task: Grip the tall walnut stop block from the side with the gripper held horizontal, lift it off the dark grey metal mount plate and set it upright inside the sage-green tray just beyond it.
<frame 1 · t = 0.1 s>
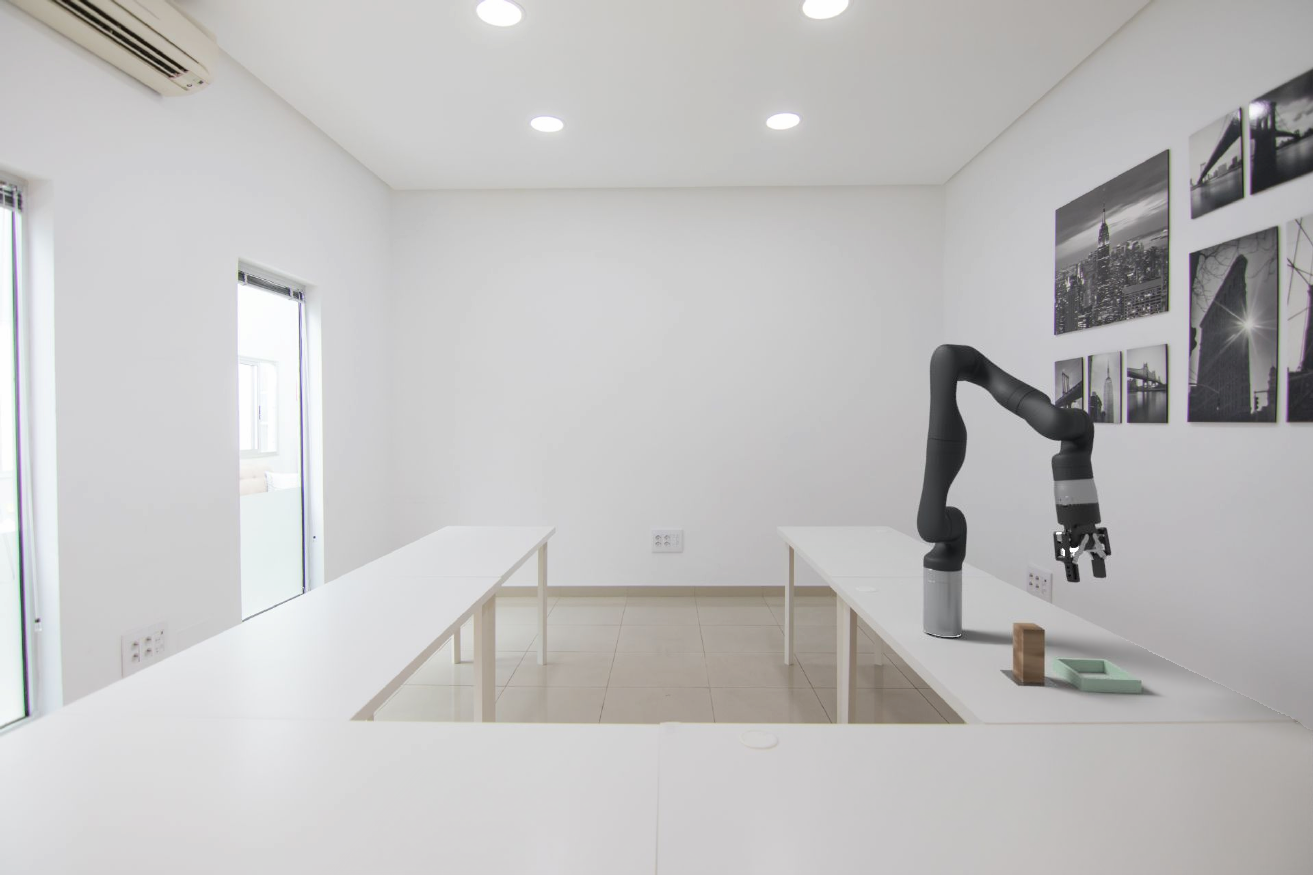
hand: (1087, 579, 124), 22 cm above the table, tool pointing down, fingers open, 8 cm apart
mount plate: (1028, 682, 125), on the table
tray: (1094, 684, 124), on the table
stop block: (1028, 678, 125), point 1 cm above the table, touching mount plate
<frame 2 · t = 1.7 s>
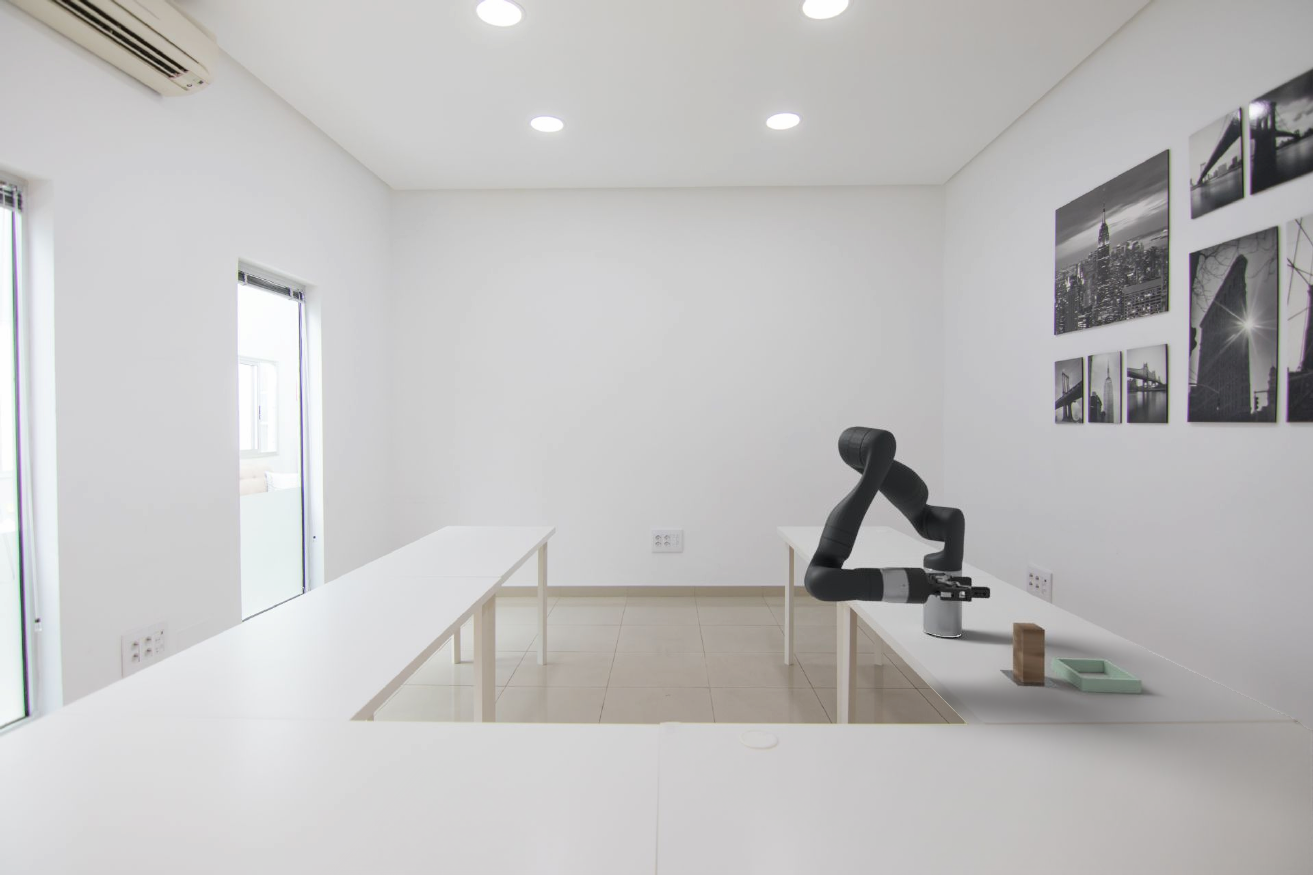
hand: (979, 587, 126), 20 cm above the table, tool horizontal, fingers open, 8 cm apart
nothing on the table moved.
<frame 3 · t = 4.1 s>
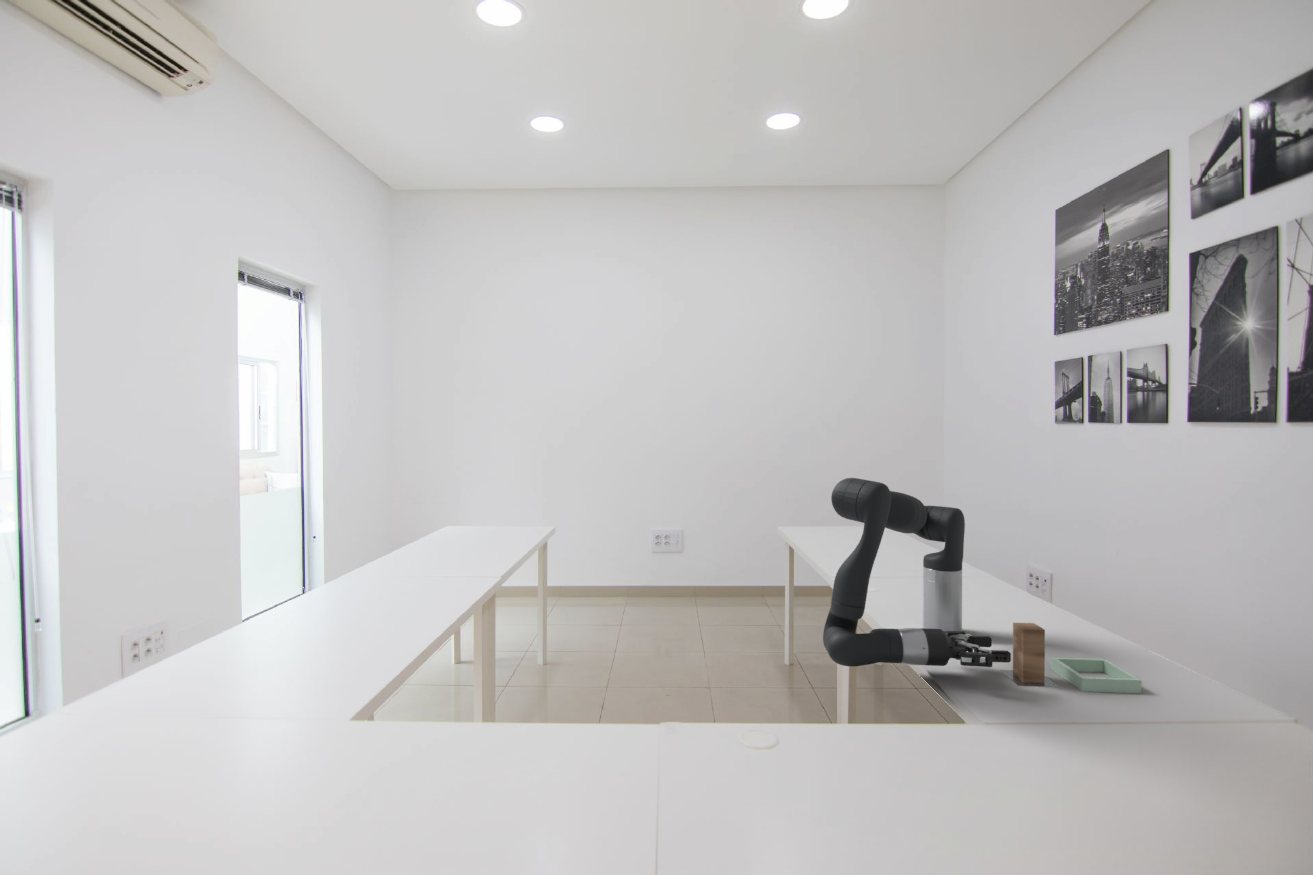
hand: (1000, 648, 126), 7 cm above the table, tool horizontal, fingers open, 8 cm apart
nothing on the table moved.
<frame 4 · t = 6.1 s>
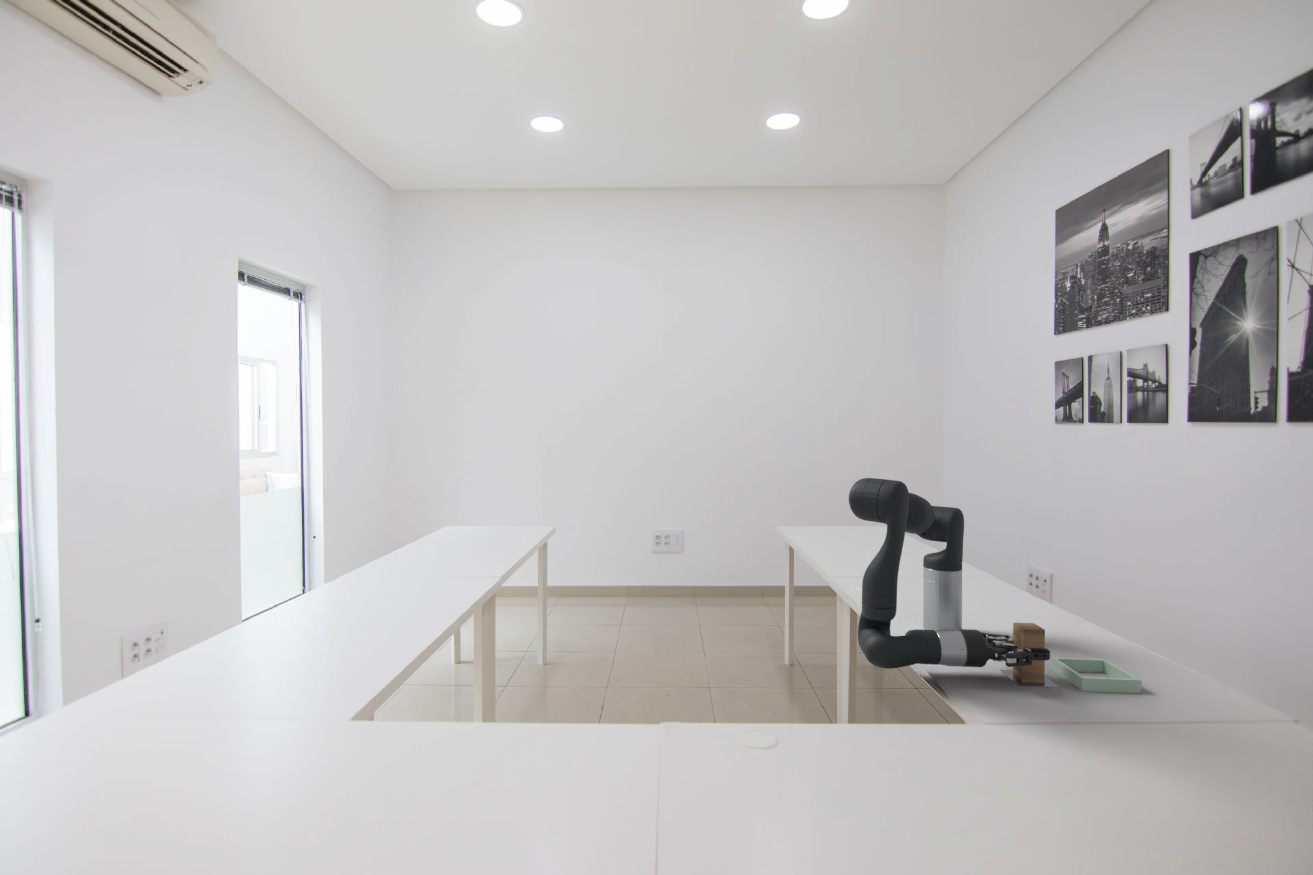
hand: (1042, 650, 125), 7 cm above the table, tool horizontal, fingers closed on stop block, 4 cm apart
stop block: (1028, 678, 125), point 1 cm above the table, touching gripper, mount plate
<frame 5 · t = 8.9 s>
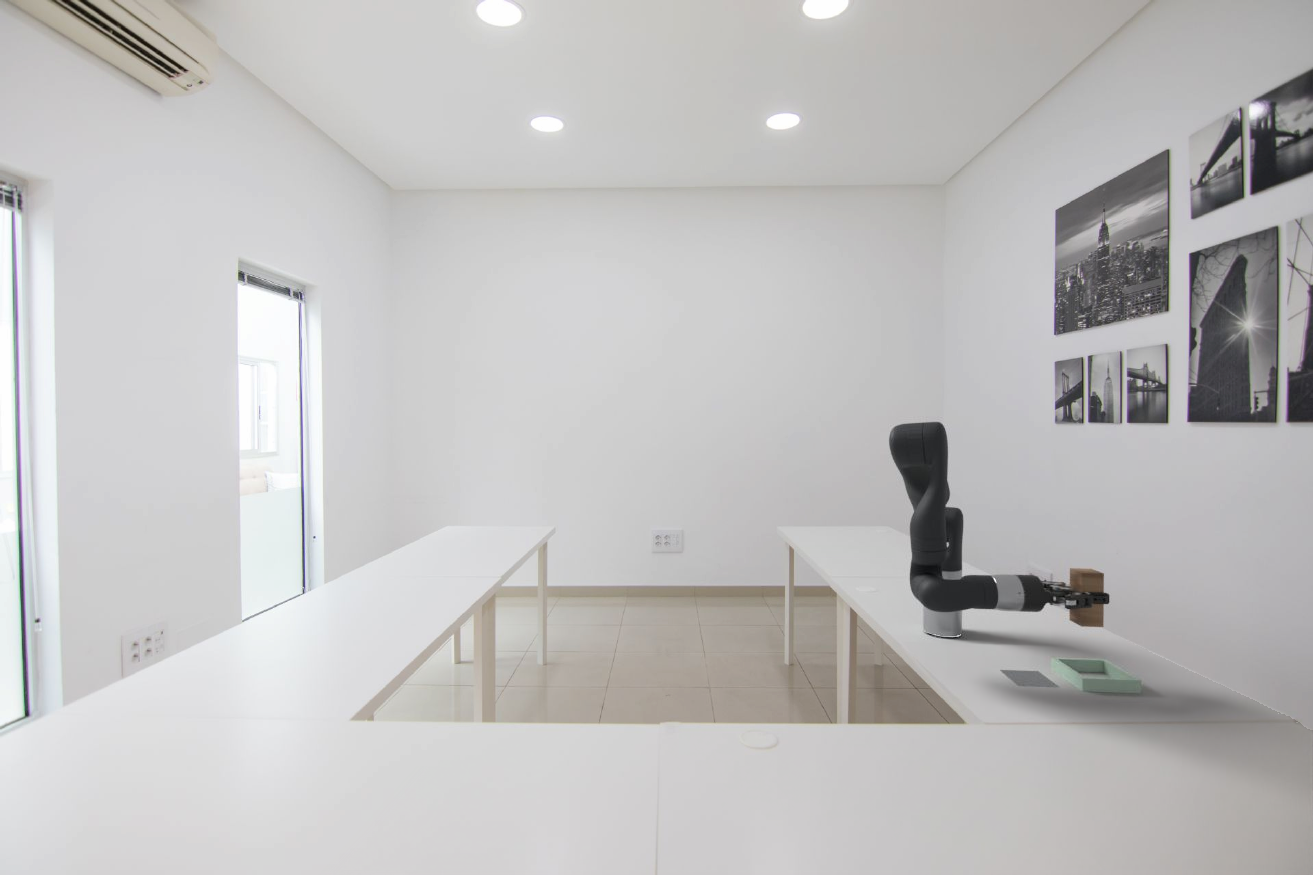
hand: (1100, 595, 124), 19 cm above the table, tool horizontal, fingers closed on stop block, 4 cm apart
stop block: (1086, 623, 124), point 13 cm above the table, touching gripper
when the fingers open (8 cm above the table, at t = 11.5 s): stop block drops 2 cm, resting on tray.
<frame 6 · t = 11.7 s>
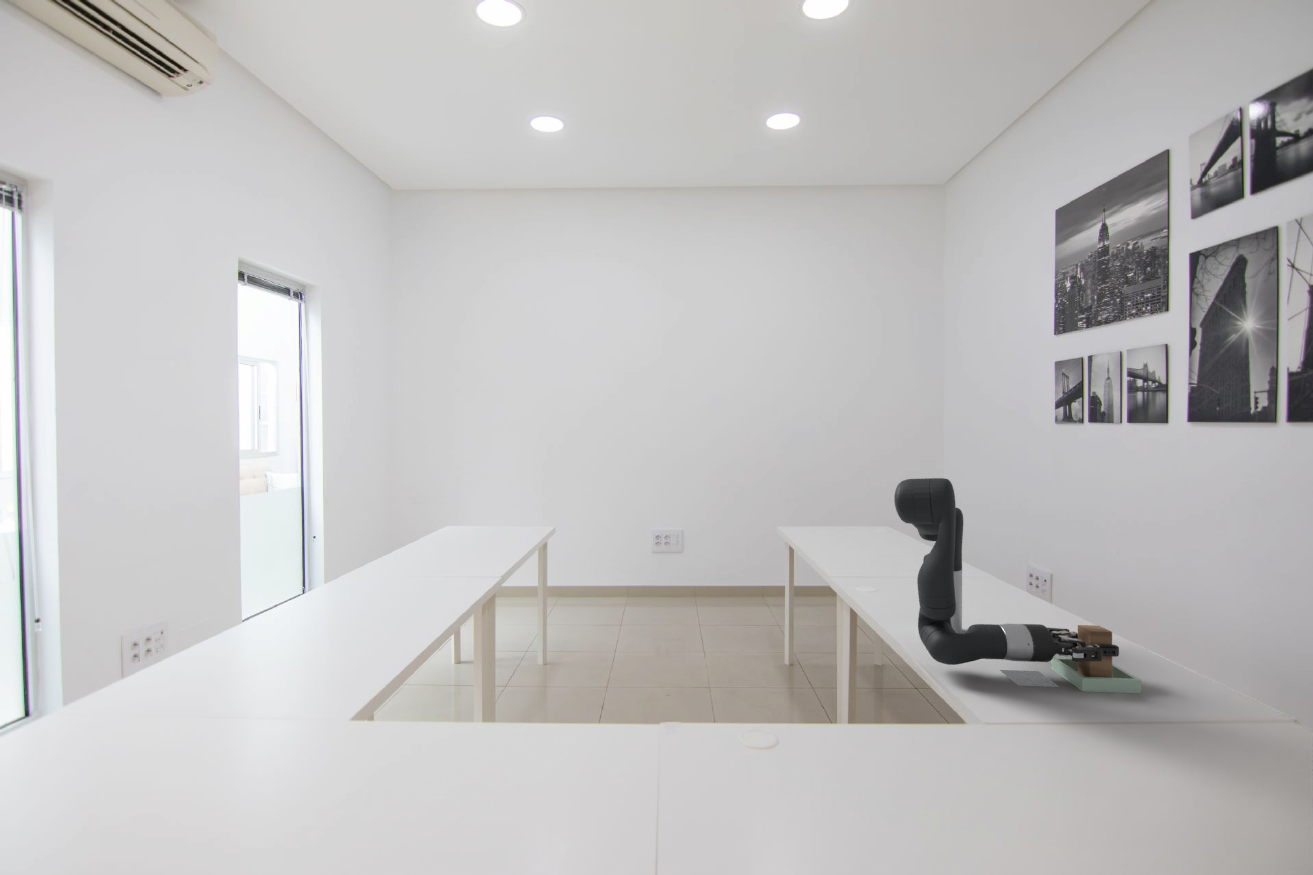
hand: (1106, 644, 124), 8 cm above the table, tool horizontal, fingers open, 6 cm apart
stop block: (1094, 681, 124), point 1 cm above the table, touching tray
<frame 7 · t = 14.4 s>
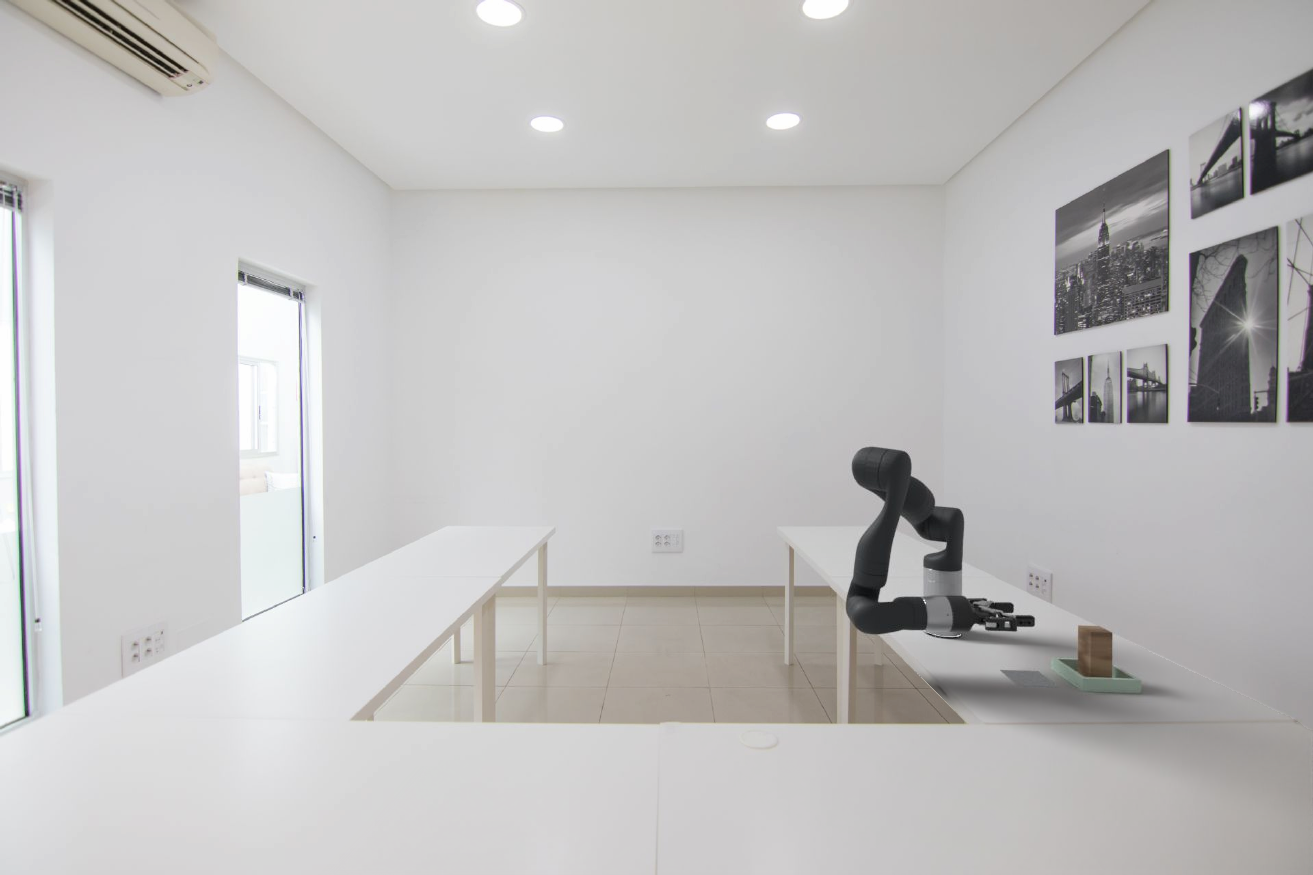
hand: (1023, 614, 126), 14 cm above the table, tool horizontal, fingers open, 8 cm apart
nothing on the table moved.
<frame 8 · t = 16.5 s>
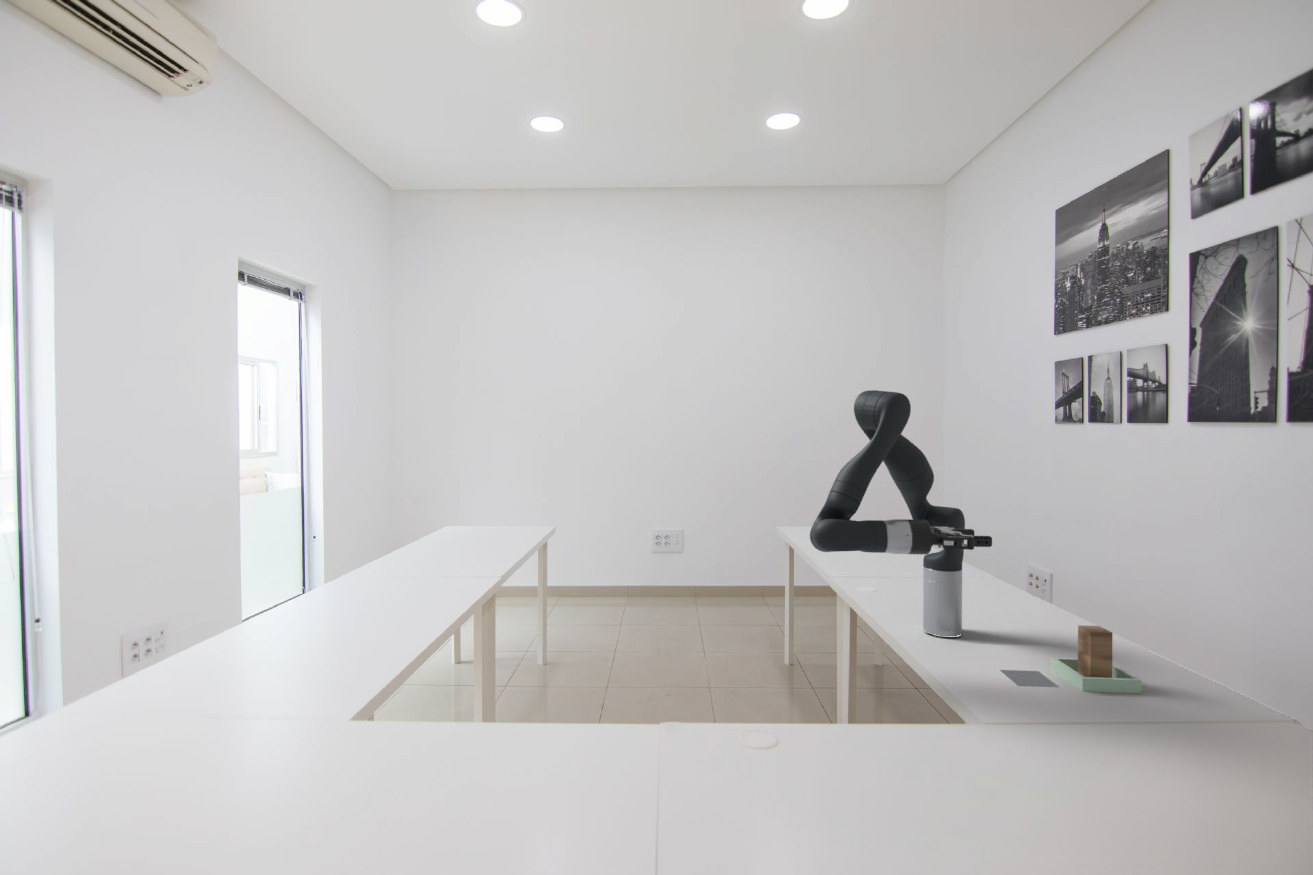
hand: (982, 537, 129), 30 cm above the table, tool horizontal, fingers open, 8 cm apart
nothing on the table moved.
at the end: stop block 0.1 cm off-centre on the tray, point 0.8 cm above the tray's base; stop block tilted 0°; the gripper is holding nothing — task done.
